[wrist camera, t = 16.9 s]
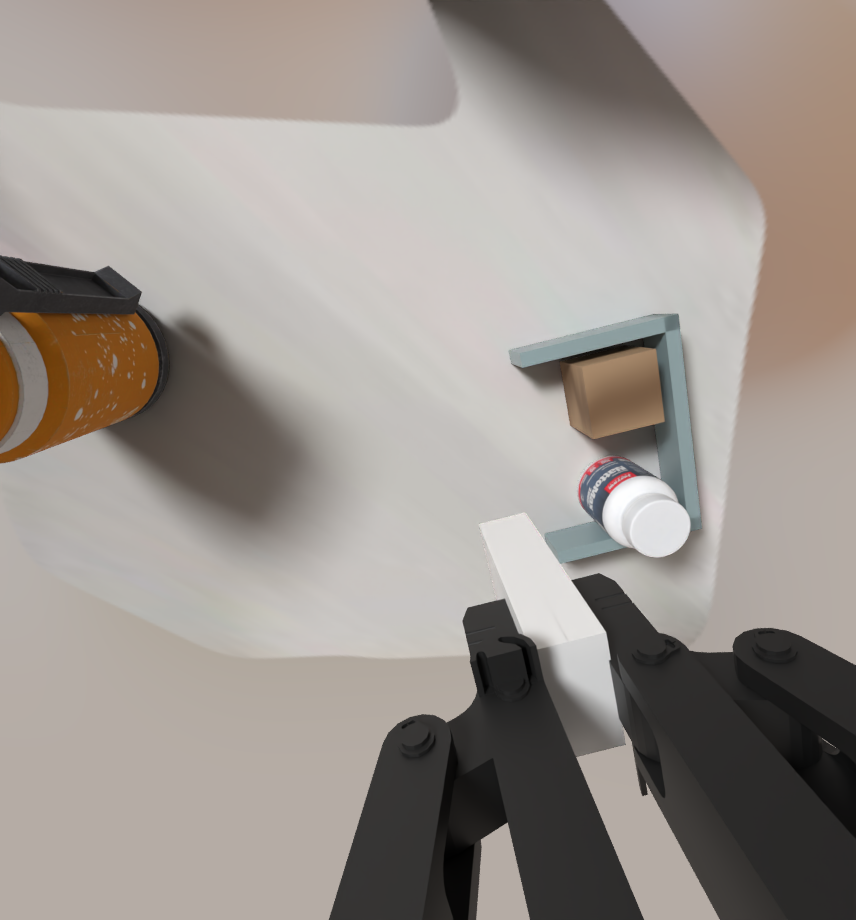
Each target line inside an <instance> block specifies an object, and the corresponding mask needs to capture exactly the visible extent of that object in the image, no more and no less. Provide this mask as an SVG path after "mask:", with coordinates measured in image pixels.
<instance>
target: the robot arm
mask: <svg viewBox="0 0 856 920" xmlns="http://www.w3.org/2000/svg"><path fill="white" fill-rule="evenodd" d="M479 528H480V532H481V537H482V541H483V545H484V549H485V554H486V558H487V562H488V567H489V571H490V575H491V579H492V584H493V588H494V592H495V596H496V600H497V601H493V602H489V603H485V604H481V605H477V606H473V607H469V608H467V611H466V613H465V616H464V618H463V625H464V629H465V634H466V638H467V643H468V647H469V651H470V656H471V657H470V664H471V667H472V671H473V675H474V679H475V683H476V687H477V694H476V697H475V699H474V701H473V703H472V705H471V706H470V707H469V708H468V709H467V710H466V711H465V712H464V713H462V714H461V715H459V716H458V717H456V718H454V719H453V720H451V721H449V722H447V723H446V722H445V721H444V720H443V719H441V718H439V717H437V716H434V715H424V714H422V715H418V716H413V717H409V718H408V719H406V720H404V721H402V722H400V723H398V724H397V725H396V726H395V727H394V728H393V729H392V730H391V731H390V732H389V733H388V735H387V737H386V739H385V740H384V742H383V745H382V748H381V751H380V755H379V758H378V761H377V764H376V768H375V771H374V774H373V777H372V781H371V784H370V788H369V791H368V794H367V797H366V800H365V804H364V807H363V810H362V814H361V817H360V820H359V823H358V827H357V830H356V833H355V836H354V839H353V843H352V846H351V850H350V853H349V856H348V859H347V862H346V866H345V869H344V872H343V876H342V879H341V882H340V885H339V888H338V892H337V895H336V899H335V901H334V905H333V909H332V912H331V915H330V918H329V920H476V913H477V901H478V887H479V886H478V885H479V874H480V860H481V839H482V838H484V837H485V836H487V835H489V834H490V833H492V832H493V831H495V830H496V829H498V828H499V827H501V826H503V825H504V824H506V823H507V822H508V825H509V829H510V834H511V838H512V843H513V847H514V851H515V856H516V860H517V864H518V868H519V873H520V877H521V882H522V886H523V891H524V895H525V899H526V904H527V908H528V912H529V917H530V920H644V919H643V916H642V914H641V911H640V909H639V907H638V904H637V902H636V899H635V897H634V895H633V892H632V890H631V888H630V885H629V883H628V880H627V878H626V876H625V873H624V871H623V868H622V866H621V864H620V862H619V859H618V856H617V854H616V852H615V849H614V847H613V844H612V842H611V840H610V837H609V835H608V833H607V831H606V828H605V825H604V823H603V821H602V818H601V816H600V813H599V811H598V809H597V806H596V804H595V801H594V799H593V797H592V794H591V792H590V790H589V787H588V785H587V782H586V780H585V778H584V775H583V773H582V770H581V768H580V766H579V763H578V761H577V758H576V757H578V756H582V755H586V754H590V753H594V752H598V751H602V750H606V749H610V748H614V747H618V746H622V745H626V744H625V738H624V732H623V727H624V728H625V730H626V732H627V734H628V736H629V737H630V739H631V741H632V745H633V751H634V757H635V763H636V769H637V775H638V781H639V786H640V790H641V793H642V796H644V795H647V787H646V783H647V785H648V787H649V789H650V791H651V793H652V794H653V796H654V798H655V800H656V802H657V804H658V806H659V807H660V809H661V811H662V812H663V815H664V817H665V818H666V820H667V822H668V824H669V826H670V828H671V830H672V832H673V833H674V835H675V837H676V839H677V841H678V842H679V844H680V846H681V848H682V850H683V852H684V854H685V856H686V858H687V859H688V861H689V863H690V865H691V867H692V869H693V871H694V872H695V874H696V876H697V878H698V879H699V882H700V884H701V885H702V887H703V889H704V891H705V893H706V895H707V896H708V898H709V900H710V902H711V904H712V906H713V908H714V909H715V911H716V913H717V915H718V917H719V919H720V920H856V665H854V664H852V663H850V662H848V661H847V660H845V659H843V658H841V657H839V656H837V655H835V654H833V653H831V652H830V651H828V650H826V649H824V648H822V647H820V646H818V645H817V644H815V643H813V642H811V641H809V640H807V639H805V638H803V637H802V636H799V635H796V634H794V633H791V632H789V631H785V630H779V629H773V628H760V629H759V628H758V629H753V630H749V631H746V632H743V633H742V634H740V635H739V636H738V637H736V638H735V641H734V644H733V652H722V653H721V652H717V653H704V652H694V651H689V649H688V648H687V647H686V646H685V645H684V644H683V643H681V642H680V641H679V640H677V639H676V638H674V637H671V636H668V635H666V634H661V633H658V632H657V631H656V629H655V628H654V627H653V626H652V625H651V623H650V622H649V621H648V620H647V619H646V617H645V616H644V615H643V614H642V613H641V611H640V610H639V609H638V608H637V607H636V606H635V604H634V603H632V601H631V600H630V598H629V597H628V596H627V595H626V594H625V593H624V591H623V590H622V589H621V588H620V586H619V585H618V584H617V583H616V582H615V581H614V580H612V579H610V578H608V577H606V576H604V575H602V574H599V573H598V574H594V575H590V576H586V577H582V578H578V579H575V580H571V579H570V578H569V576H568V575H567V573H566V572H565V571H564V569H563V568H562V566H561V565H560V563H559V562H558V560H557V559H556V557H555V556H554V554H553V553H552V551H551V550H550V548H549V547H548V545H547V544H546V542H545V541H544V539H543V538H542V536H541V535H540V533H539V532H538V530H537V529H536V527H535V526H534V525H533V523H532V522H531V520H530V519H529V517H528V516H527V514H526V513H525V512H524V513H520V514H516V515H512V516H508V517H505V518H501V519H497V520H493V521H489V522H485V523H481V524H479ZM622 725H623V726H622ZM822 738H823V739H824V740H826V741H828V742H829V743H830V744H832V745H833V746H834V747H833V746H832V745H830V744H829V743H827V742H826V741H824V740H823V739H822ZM835 747H836V748H835Z"/></svg>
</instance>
